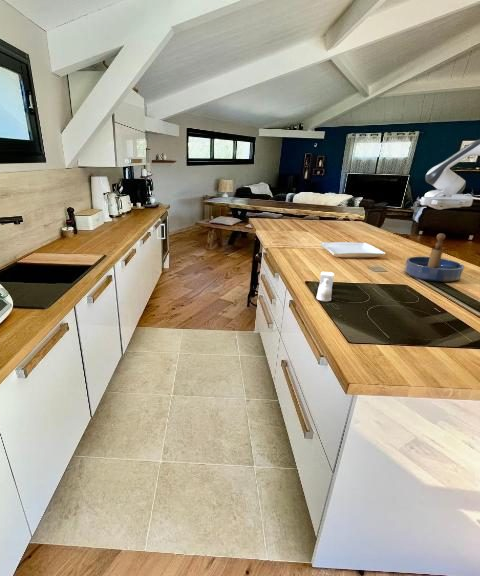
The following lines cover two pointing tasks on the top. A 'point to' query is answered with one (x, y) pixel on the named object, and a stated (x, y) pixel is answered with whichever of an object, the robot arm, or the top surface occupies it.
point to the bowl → (434, 269)
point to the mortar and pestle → (436, 253)
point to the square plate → (352, 250)
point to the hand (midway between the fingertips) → (450, 202)
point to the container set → (325, 286)
